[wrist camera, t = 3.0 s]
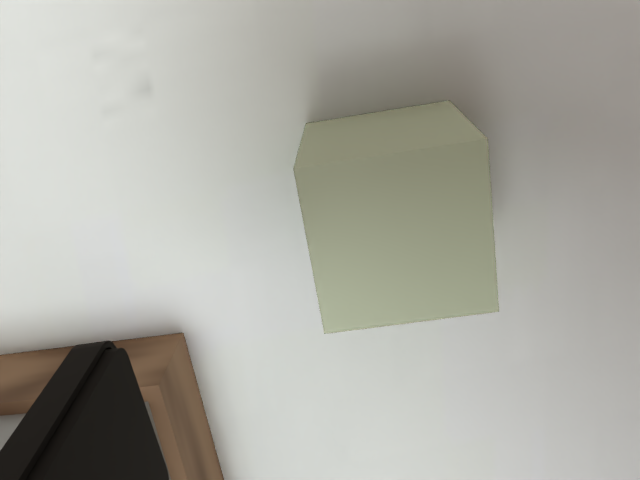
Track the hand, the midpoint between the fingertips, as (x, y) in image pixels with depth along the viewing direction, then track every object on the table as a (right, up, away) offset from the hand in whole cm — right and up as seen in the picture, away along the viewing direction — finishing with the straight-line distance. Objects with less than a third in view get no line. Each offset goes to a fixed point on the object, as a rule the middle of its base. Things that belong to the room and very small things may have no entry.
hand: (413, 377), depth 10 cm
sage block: (+1, +4, +12) cm, 13 cm away
